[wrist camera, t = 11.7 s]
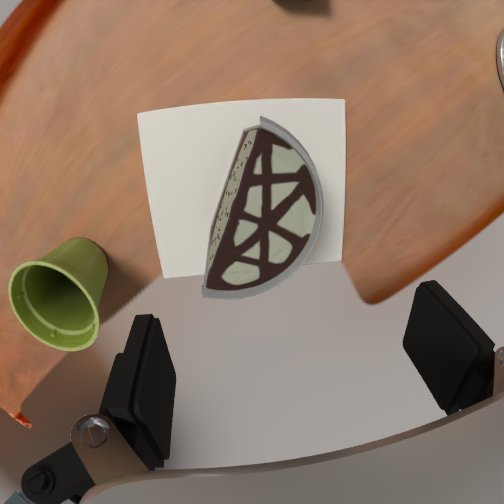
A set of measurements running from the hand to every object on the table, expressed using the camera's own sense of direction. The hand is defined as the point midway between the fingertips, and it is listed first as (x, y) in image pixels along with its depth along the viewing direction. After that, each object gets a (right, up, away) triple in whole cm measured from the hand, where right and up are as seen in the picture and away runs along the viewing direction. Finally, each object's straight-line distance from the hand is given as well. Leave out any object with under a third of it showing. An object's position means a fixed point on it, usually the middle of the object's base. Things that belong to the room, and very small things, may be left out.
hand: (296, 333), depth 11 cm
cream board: (-2, +9, +18) cm, 20 cm away
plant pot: (-19, +2, +20) cm, 28 cm away
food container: (-1, +8, +17) cm, 19 cm away
